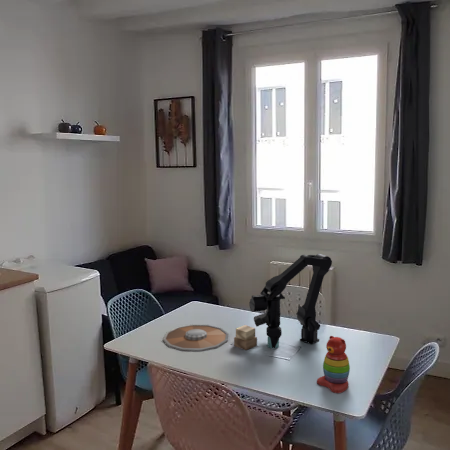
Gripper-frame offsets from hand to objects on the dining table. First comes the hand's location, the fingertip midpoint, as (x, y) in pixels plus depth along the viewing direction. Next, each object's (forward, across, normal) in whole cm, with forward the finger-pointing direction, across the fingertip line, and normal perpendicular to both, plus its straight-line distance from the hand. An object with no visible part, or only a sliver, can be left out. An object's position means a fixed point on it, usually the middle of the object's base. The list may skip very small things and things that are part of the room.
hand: (273, 343), depth 207 cm
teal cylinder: (+1, 0, 0) cm, 1 cm away
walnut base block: (+1, 0, -12) cm, 12 cm away
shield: (+2, -7, -35) cm, 35 cm away
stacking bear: (+1, +34, +21) cm, 40 cm away
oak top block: (-3, 0, -12) cm, 12 cm away
